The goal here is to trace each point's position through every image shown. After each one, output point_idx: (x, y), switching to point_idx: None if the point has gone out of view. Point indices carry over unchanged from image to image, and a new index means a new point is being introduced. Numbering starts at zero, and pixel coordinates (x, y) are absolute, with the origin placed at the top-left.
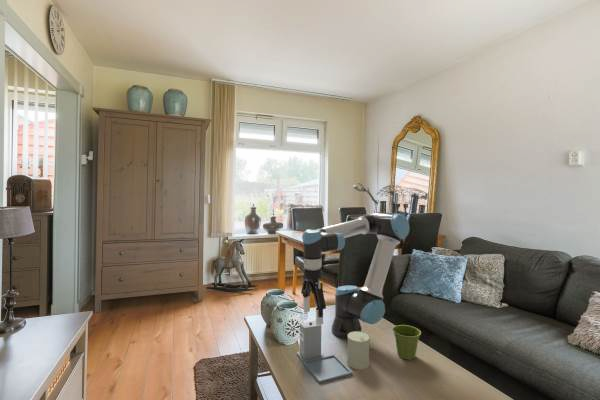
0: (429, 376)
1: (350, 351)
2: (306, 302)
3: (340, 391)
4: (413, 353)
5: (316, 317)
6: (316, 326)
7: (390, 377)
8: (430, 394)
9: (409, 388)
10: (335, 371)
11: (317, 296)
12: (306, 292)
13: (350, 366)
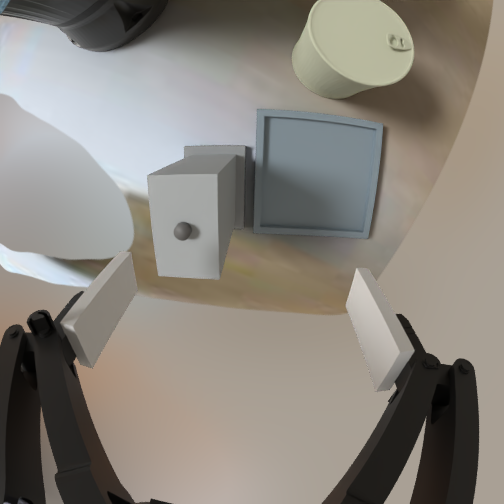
0: None
1: (355, 91)
2: (103, 320)
3: (414, 203)
4: None
5: (362, 338)
6: (218, 207)
7: (424, 47)
8: (485, 46)
9: (465, 56)
10: (346, 162)
11: (423, 483)
12: (87, 414)
13: (340, 98)
